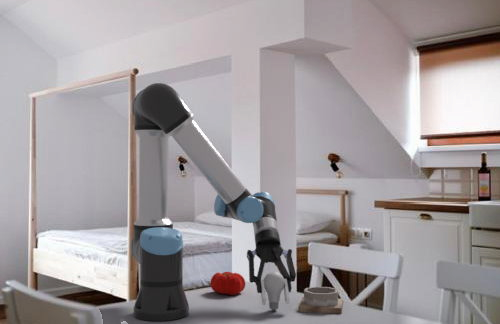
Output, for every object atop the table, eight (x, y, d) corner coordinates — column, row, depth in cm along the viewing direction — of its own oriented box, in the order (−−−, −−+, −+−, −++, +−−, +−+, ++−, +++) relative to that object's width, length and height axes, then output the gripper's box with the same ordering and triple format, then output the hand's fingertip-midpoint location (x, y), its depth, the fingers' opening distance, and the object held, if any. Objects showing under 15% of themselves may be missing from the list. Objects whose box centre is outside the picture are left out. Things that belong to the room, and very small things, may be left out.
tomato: (225, 288, 203) (225, 269, 203) (250, 293, 196) (250, 273, 196) (204, 293, 196) (204, 273, 196) (229, 298, 188) (229, 277, 188)
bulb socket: (298, 311, 172) (298, 293, 172) (302, 301, 183) (302, 285, 183) (341, 313, 169) (341, 295, 169) (342, 303, 181) (342, 286, 181)
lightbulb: (282, 313, 169) (283, 274, 169) (261, 312, 170) (261, 273, 170) (286, 308, 175) (286, 270, 175) (265, 307, 176) (265, 269, 176)
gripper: (295, 242, 189) (307, 307, 173) (235, 243, 187) (241, 310, 171) (299, 227, 184) (311, 293, 168) (236, 228, 182) (243, 295, 165)
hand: (276, 301), depth 169 cm, fingers closed on lightbulb, 6 cm apart
